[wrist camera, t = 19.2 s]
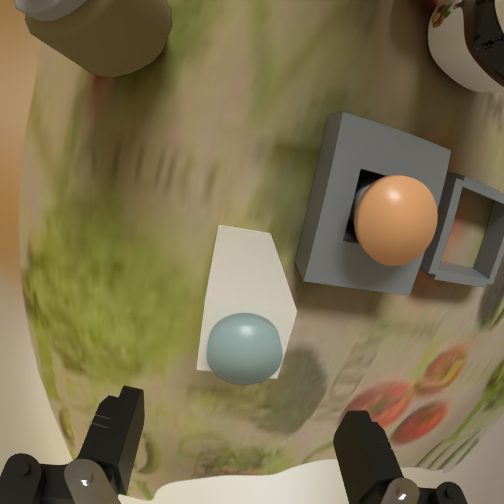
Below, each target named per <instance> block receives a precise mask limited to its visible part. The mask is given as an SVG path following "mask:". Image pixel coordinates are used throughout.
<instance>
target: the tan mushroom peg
mask: <svg viewBox="0 0 504 504" xmlns="http://www.w3.org/2000/svg"><path fill="white" fill-rule="evenodd" d="M437 216H438V214H437V207H436V203H435V200H434V197H433V195H432V193H431V192H430V190H429V189H428V188H427V187H426V186H425V185H424V184H423V183H422V182H420V181H418V180H416V179H414V178H411V177H408V176H404V175H389V176H385V177H382V178H380V179H378V180H375V179H364V180H361V181H359V182H357V186H356V191H355V195H354V199H353V203H352V207H351V211H350V215H349V220H350V221H351V222H352V223H353V224H354V227H355V233H356V236H357V239H358V241H359V244H360V245H361V247H362V248H363V249H364V250H365V252H366V253H368V254H369V255H370V256H371V257H372V258H373V259H374V260H376V261H377V262H379V263H381V264H384V265H388V266H400V265H404V264H407V263H409V262H411V261H413V260H415V259H416V258H418V257H419V256H420V255H421V254H422V253H423V252H424V251H425V250H426V248H427V247H428V246H429V244H430V243H431V241H432V239H433V236H434V234H435V231H436V227H437Z"/></svg>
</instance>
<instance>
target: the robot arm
mask: <svg viewBox="0 0 504 504" xmlns="http://www.w3.org/2000/svg"><path fill="white" fill-rule="evenodd" d="M144 417H145V413H144V392H143V389H138V388H133V387H129V386H123V388H122V390H121V393H120V395H119V398H118V397H114V396H110V395H109V396H108V397H107V398H105V399H104V400H103V401H102V402H101V403H100V404H99V407H98V409H97V411H96V415H95V416H94V419H93V421H92V424H91V426H90V428H89V431H88V433H87V436H86V438H85V441H84V443H83V446H82V448H81V451H80V453H79V455H78V457H77V458H76V459H75V460H73V461H71V462H70V463H69V464H65V465H48V464H39V463H38V461H37V460H36V459H35V458H34V457H32V456H30V455H28V454H23V453H19V454H15V455H13V456H11V457H10V458H9V459H8V460H7V462H6V464H5V466H4V469H3V472H2V474H1V476H0V504H121V503H120V501H119V499H118V494H123V495H126V494H127V490H128V485H129V481H130V477H131V473H132V469H133V465H134V461H135V457H136V453H137V449H138V445H139V441H140V437H141V434H142V430H143V425H144ZM333 443H334V449H335V452H336V456H337V460H338V463H339V467H340V471H341V475H342V478H343V482H344V486H345V489H346V493H347V497H348V501H349V504H467V501H466V499H465V496H464V495H463V492H462V490H461V488H460V487H459V486H458V485H457V484H455V483H452V482H444V483H442V484H441V485H439V486H438V487H437V488H436V489H432V488H420V487H418V486H417V485H416V484H415V483H414V482H413V481H411V480H409V479H407V478H404V476H403V475H402V472H401V469H400V467H399V464H398V462H397V460H396V457H395V455H394V452H393V450H392V449H391V445H390V443H389V442H388V438H387V436H386V433H385V431H384V430H383V428H382V427H381V426H380V425H379V424H378V423H377V422H372V421H371V418H370V416H369V413H368V412H367V411H366V410H360V411H348V412H347V413H346V414H345V416H344V418H343V420H342V422H341V424H340V425H339V427H338V429H337V431H336V432H335V435H334V441H333Z"/></svg>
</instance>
